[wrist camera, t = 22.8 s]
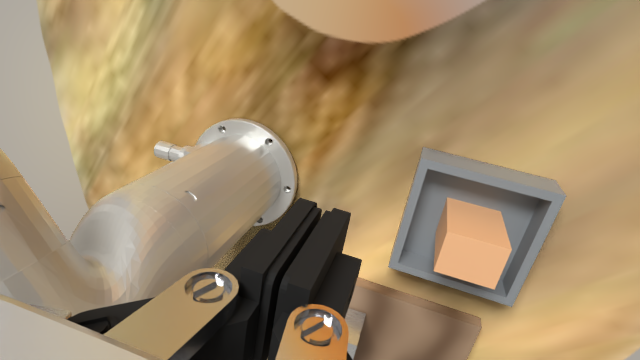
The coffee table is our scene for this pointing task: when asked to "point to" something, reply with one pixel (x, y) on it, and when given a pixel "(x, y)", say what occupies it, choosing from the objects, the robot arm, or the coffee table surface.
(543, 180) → the tray
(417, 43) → the coffee table surface
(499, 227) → the light orange block
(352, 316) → the grey cube block
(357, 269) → the robot arm
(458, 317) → the slide board
